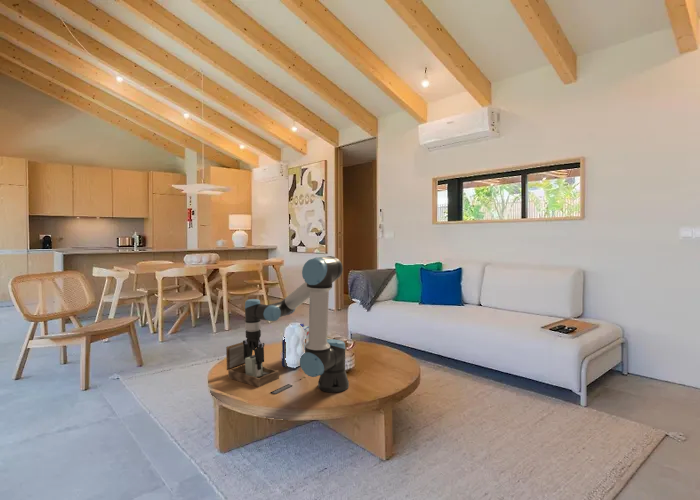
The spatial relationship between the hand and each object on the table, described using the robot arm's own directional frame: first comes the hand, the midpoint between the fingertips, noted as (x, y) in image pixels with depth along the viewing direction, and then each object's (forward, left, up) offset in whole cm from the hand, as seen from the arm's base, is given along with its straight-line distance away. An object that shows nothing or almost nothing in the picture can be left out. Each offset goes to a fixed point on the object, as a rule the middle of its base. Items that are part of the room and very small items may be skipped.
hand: (254, 374), depth 213 cm
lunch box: (-1, -32, -3) cm, 32 cm away
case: (0, 0, -3) cm, 3 cm away
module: (0, 0, -1) cm, 1 cm away
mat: (-17, +1, -3) cm, 17 cm away
